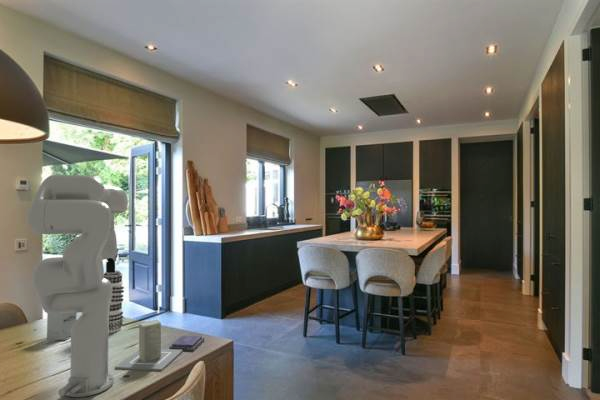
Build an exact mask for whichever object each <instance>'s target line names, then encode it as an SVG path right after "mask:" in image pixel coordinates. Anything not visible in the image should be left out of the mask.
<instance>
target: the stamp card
mask: <svg viewBox="0 0 600 400" xmlns="http://www.w3.org/2000/svg"><path fill="white" fill-rule="evenodd" d="M183 352H184V351H183V350H177V349H168V348H161V358H157V359H153V360H150V361H146V362H142V361H141V360H140V358H139V349H138V350H137V351H135V352H134V353H133V354H131V355H129V356H128V357H126V359H124V360H122V361H121V362H120V363H118V364H117V365H115V366H114V369H115V370H132V371H135V370H136V371H157V372H162V371H164V369H166V368H167V367H168V366H169V365H170V364H171V363H172V362H173V361H175V360H176V358H178V357H179V356H180V355H181V354H182V353H183Z"/></svg>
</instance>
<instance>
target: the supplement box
mask: <svg viewBox="0 0 600 400" xmlns="http://www.w3.org/2000/svg"><path fill="white" fill-rule="evenodd" d="M77 313H78V312H72V313H62V314H48V313H47V317H46V318H47V320H46V321H47V323H46V339H47V340H55V341H63V340H65V339H67V338H69V337H70V338H71V329H72V326H73V324H74V323H75V321H76V320H77Z"/></svg>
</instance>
